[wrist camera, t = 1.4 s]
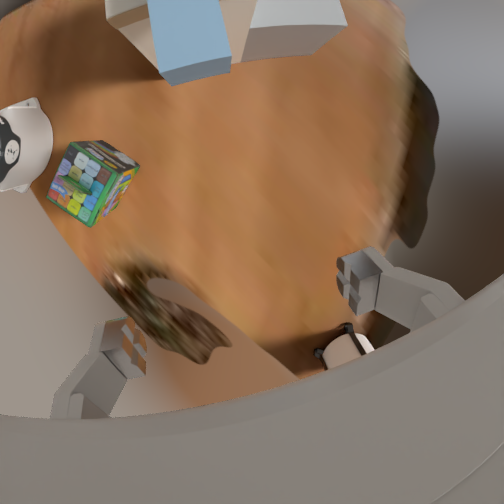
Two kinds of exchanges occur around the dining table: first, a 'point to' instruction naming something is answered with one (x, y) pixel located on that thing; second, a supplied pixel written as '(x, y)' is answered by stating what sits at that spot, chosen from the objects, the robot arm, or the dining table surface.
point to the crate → (292, 28)
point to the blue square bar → (189, 39)
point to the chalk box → (91, 180)
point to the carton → (140, 34)
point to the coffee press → (344, 348)
